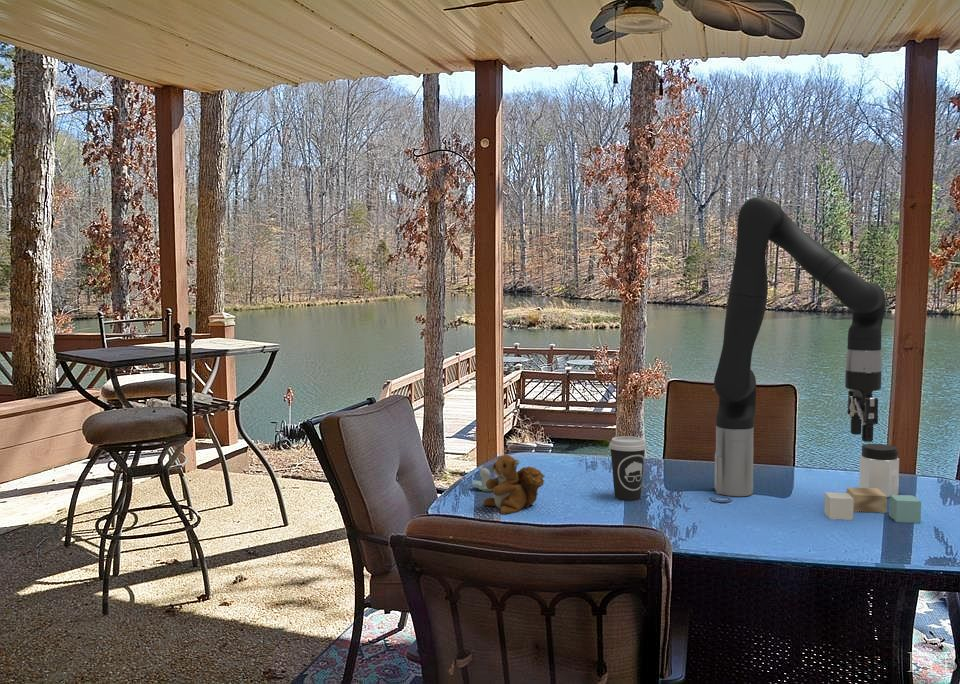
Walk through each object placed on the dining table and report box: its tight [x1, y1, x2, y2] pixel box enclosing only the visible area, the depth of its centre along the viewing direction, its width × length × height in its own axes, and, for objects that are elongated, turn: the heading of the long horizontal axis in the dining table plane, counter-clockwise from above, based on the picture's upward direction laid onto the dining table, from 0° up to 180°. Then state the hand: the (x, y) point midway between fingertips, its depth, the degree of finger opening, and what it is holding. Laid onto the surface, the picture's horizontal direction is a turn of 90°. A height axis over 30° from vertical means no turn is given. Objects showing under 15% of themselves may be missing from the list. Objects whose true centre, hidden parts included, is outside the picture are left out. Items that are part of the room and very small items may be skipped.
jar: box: [858, 443, 900, 498], centre depth 197 cm, size 9×8×12 cm
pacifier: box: [471, 467, 493, 492], centre depth 206 cm, size 7×6×6 cm
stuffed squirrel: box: [483, 453, 546, 515], centre depth 188 cm, size 10×14×13 cm
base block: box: [846, 486, 888, 514], centre depth 184 cm, size 7×7×4 cm
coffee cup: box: [608, 435, 648, 502], centre depth 196 cm, size 10×10×15 cm
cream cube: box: [824, 491, 854, 521], centre depth 178 cm, size 5×5×5 cm
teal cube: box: [888, 494, 922, 524], centre depth 175 cm, size 5×5×5 cm
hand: (861, 437), depth 180 cm, fingers open, 8 cm apart
